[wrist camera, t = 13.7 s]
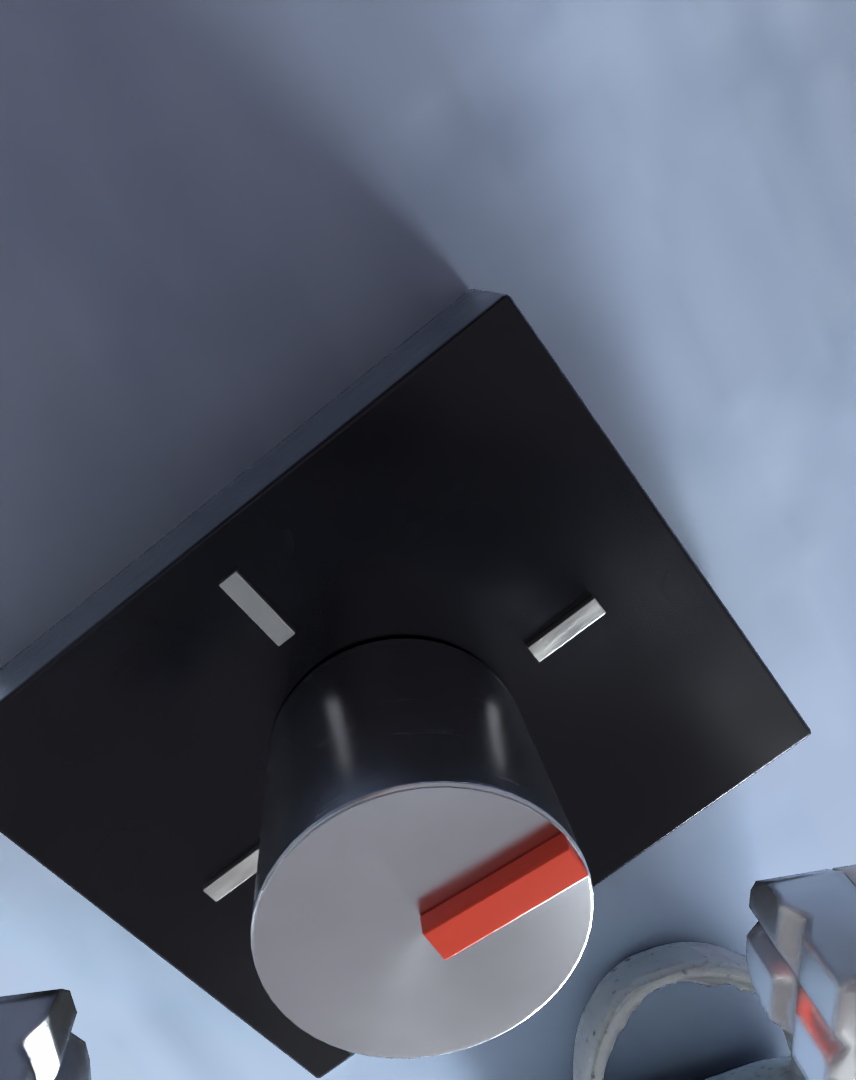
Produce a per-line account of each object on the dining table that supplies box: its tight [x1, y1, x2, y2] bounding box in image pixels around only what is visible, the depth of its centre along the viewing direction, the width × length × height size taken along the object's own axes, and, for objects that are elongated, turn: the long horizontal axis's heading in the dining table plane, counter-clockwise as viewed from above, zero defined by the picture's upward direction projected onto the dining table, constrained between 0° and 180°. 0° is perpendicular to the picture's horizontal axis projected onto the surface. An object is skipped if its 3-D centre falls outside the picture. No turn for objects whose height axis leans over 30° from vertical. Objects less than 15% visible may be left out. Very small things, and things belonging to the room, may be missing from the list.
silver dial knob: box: [251, 638, 594, 1059], centre depth 12 cm, size 4×4×4 cm
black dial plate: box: [0, 289, 811, 1078], centre depth 15 cm, size 12×10×3 cm
